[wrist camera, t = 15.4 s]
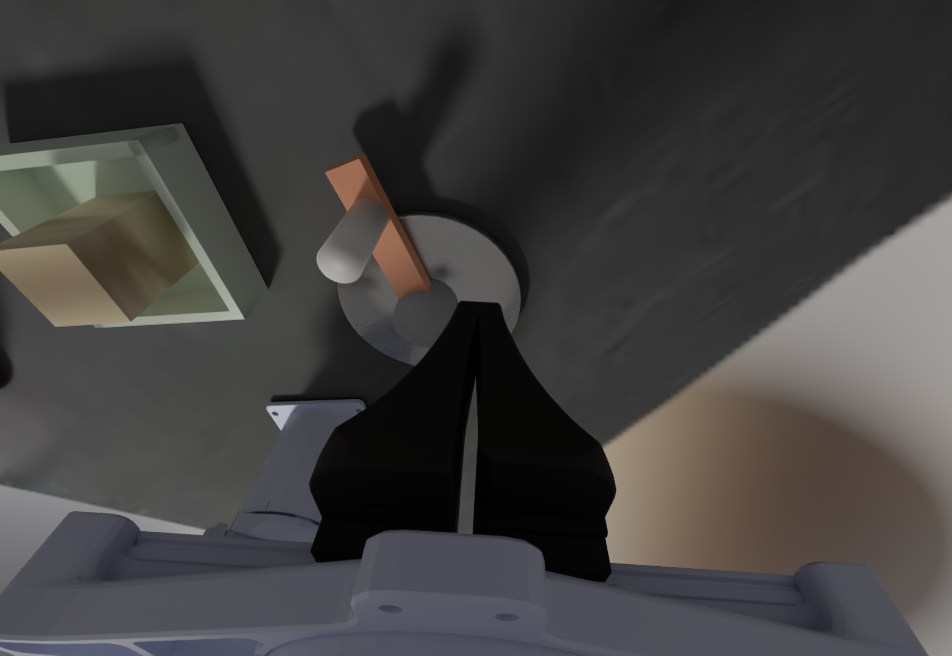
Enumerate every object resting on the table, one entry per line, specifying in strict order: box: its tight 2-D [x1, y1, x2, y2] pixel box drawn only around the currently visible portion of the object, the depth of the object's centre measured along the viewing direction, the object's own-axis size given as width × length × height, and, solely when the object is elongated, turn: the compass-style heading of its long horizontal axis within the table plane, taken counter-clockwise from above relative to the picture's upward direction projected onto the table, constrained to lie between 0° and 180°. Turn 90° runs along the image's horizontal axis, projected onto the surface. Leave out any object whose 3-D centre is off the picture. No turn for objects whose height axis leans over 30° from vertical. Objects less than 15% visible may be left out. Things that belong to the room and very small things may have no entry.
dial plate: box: [338, 210, 521, 365], centre depth 25 cm, size 11×11×1 cm
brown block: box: [0, 191, 199, 327], centre depth 20 cm, size 4×4×6 cm
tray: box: [0, 123, 268, 328], centre depth 22 cm, size 10×10×3 cm
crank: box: [317, 153, 458, 347], centre depth 20 cm, size 11×4×6 cm, turn 20°
